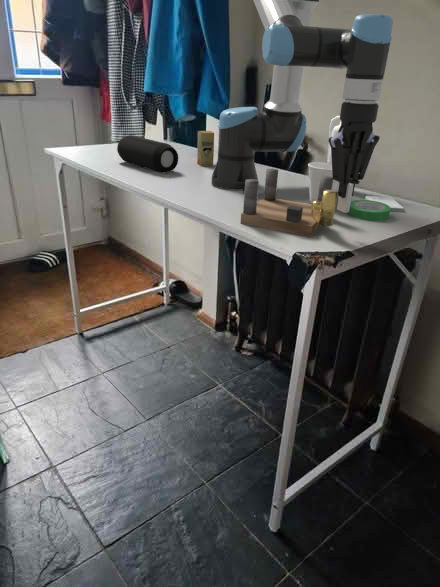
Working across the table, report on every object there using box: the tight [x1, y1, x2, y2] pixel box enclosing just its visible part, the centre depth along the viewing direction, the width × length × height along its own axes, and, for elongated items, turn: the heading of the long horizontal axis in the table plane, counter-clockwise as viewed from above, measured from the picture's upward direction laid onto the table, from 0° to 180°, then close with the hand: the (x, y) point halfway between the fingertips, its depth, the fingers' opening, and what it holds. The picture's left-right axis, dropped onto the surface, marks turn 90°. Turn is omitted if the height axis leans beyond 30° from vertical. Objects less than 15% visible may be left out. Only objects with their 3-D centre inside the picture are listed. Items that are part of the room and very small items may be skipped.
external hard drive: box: [364, 195, 406, 213], centre depth 133 cm, size 2×8×12 cm
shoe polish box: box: [196, 130, 215, 167], centre depth 169 cm, size 5×5×12 cm
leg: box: [311, 190, 338, 227], centre depth 107 cm, size 11×3×8 cm, turn 5°
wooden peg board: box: [240, 168, 333, 237], centre depth 113 cm, size 18×18×10 cm
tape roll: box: [347, 199, 391, 222], centre depth 123 cm, size 11×11×3 cm
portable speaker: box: [116, 134, 179, 174], centre depth 161 cm, size 26×10×10 cm, turn 45°
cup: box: [307, 161, 338, 204], centre depth 128 cm, size 10×10×11 cm
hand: (342, 210), depth 105 cm, fingers closed
